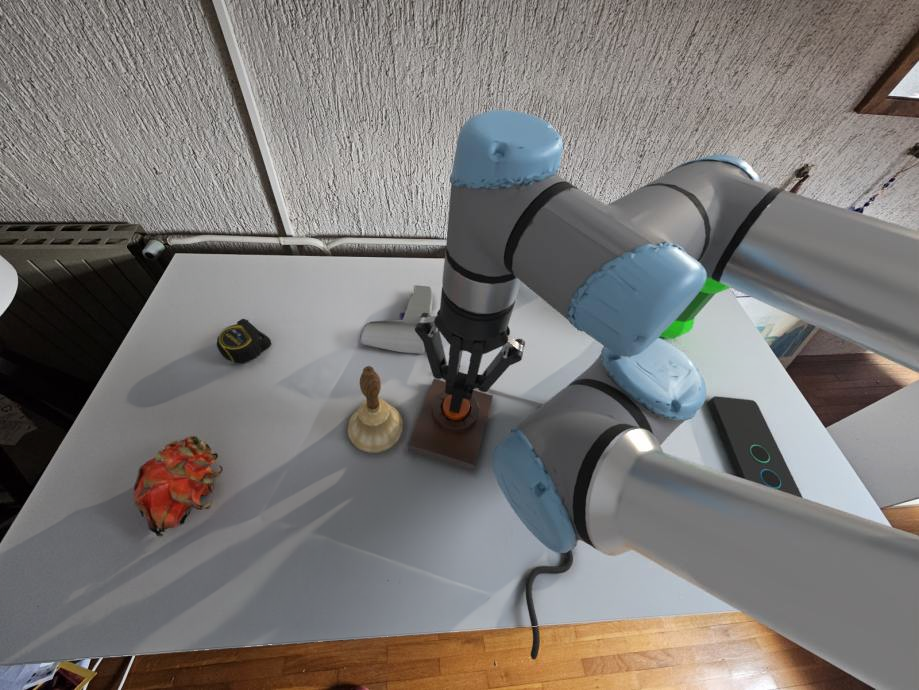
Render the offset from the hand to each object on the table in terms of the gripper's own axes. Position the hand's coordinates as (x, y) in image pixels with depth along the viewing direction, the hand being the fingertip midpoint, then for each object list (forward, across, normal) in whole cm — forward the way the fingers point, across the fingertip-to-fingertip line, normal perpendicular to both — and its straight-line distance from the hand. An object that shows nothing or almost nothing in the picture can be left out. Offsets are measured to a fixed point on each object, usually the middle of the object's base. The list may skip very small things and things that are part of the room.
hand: (456, 404), depth 56 cm
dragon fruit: (+5, +30, +21) cm, 37 cm away
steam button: (+2, 0, 0) cm, 2 cm away
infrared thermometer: (+5, +15, -16) cm, 23 cm away
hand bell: (+5, +11, +5) cm, 13 cm away
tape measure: (+5, +37, -2) cm, 37 cm away
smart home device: (+5, -48, -9) cm, 49 cm away
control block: (+5, 0, +1) cm, 5 cm away
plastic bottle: (+5, -34, -33) cm, 48 cm away
